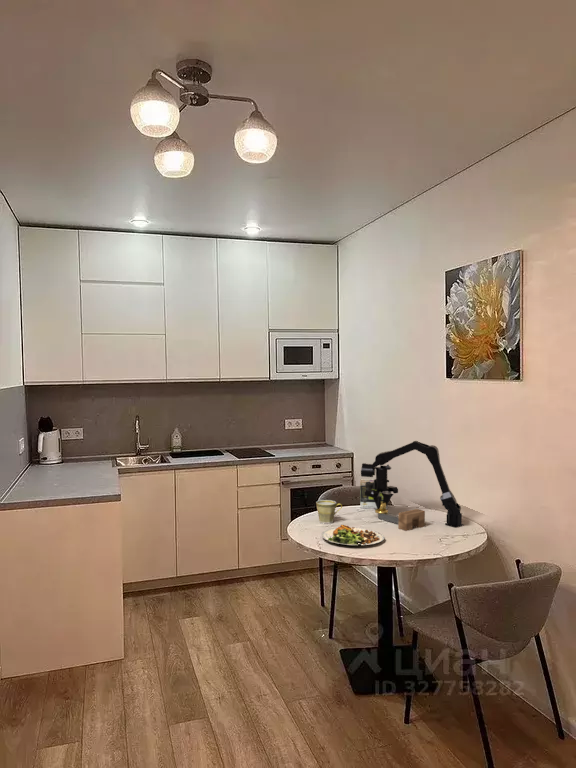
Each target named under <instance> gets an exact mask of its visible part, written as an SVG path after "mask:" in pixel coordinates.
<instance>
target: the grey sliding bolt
mask: <svg viewBox="0 0 576 768" xmlns="http://www.w3.org/2000/svg"><path fill="white" fill-rule="evenodd" d="M374 512H375V513H376V514H377V519H380V520H383V521H386V522H390V523H394V524H396V525H398V523H399V515H397V514H392V513H389V510H388V509H386V502H382V501H381V504H380V508H379V509H377V508H375V510H374Z"/></svg>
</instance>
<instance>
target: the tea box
mask: <svg viewBox="0 0 576 768" xmlns="http://www.w3.org/2000/svg"><path fill="white" fill-rule="evenodd" d="M374 479H375V478H361V479H360V481H359V484H360V485H359V492H360V493H359V503H360V507H359V508H360V509H377V506H376V504H375V501H374V499H373V498H372V497H369V496H365V491H366V490H369V489H368V488H366V486H365V485H366V482H371V483H373V482H374ZM387 486H389V485H388V484H387ZM372 490H373V489H372ZM380 496H381V497H382V499H381V501H382V502H383V495H382V493H381V494H380ZM388 504H389V503H388ZM388 504H387V506H386V510H388V509H389V506H388Z"/></svg>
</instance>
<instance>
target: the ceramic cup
mask: <svg viewBox="0 0 576 768" xmlns="http://www.w3.org/2000/svg"><path fill="white" fill-rule="evenodd" d="M315 505H316V509H317V513H318V514H317V515H318V520H319V523H320V524H322V523H324V524H323V525H326V524H327V525H330V523H331V524H333V523H334V519H335V515H336V514H337V513H338V512H339V511H340V510H341V509H342V508H343V504H342V503H339V502H338V503H337V501H335V500H331V499H320V500H317V501H316V502H315ZM339 505H340V508H339V509H338V510H336V509H337V507H338V506H339Z"/></svg>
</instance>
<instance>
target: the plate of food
mask: <svg viewBox="0 0 576 768" xmlns="http://www.w3.org/2000/svg"><path fill="white" fill-rule="evenodd" d="M332 535H333V537H332V538H331V536H332ZM321 537H322V538H323V539H324V540H326V541H328V542H330V543H335V544H338V545H339V544H340V545H346V546H358V545H359V544H358V543H361V544H363V545H362V546H367V545H368V546H369V545H374V544H375V545H376V544H378V543H380V542H383V541H384V540H385V536H384V535H383V533H380V532H378V531H376V530H373V529H368V528H363V527H354V526H349V525H346V524H341V525H339V526H338V527H333V528H328V529H325V530H324V531H322V533H321ZM365 543H367V544H365ZM361 544H360V545H361Z"/></svg>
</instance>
